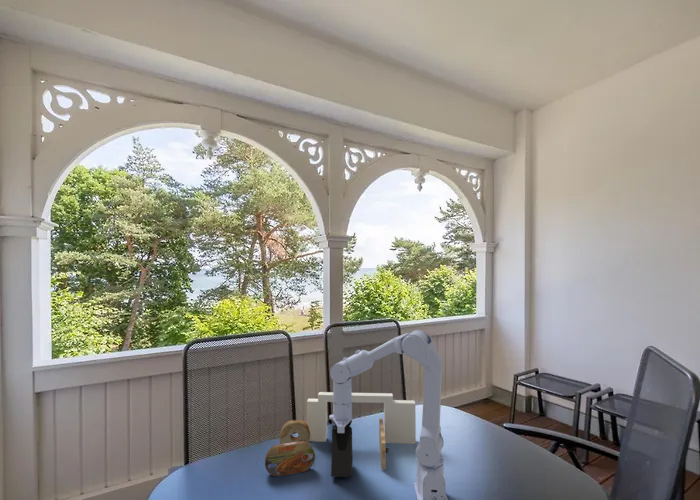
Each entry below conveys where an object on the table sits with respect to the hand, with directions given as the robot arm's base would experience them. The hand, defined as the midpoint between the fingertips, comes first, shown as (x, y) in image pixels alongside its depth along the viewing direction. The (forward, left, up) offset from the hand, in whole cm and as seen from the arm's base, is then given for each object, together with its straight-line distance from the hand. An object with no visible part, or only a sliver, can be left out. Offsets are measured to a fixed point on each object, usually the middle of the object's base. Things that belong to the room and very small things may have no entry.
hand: (342, 447), depth 108 cm
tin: (0, +16, -8) cm, 18 cm away
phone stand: (0, 0, -7) cm, 7 cm away
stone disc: (+13, +17, -8) cm, 23 cm away
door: (+11, -13, -7) cm, 19 cm away
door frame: (+21, -5, -8) cm, 23 cm away
